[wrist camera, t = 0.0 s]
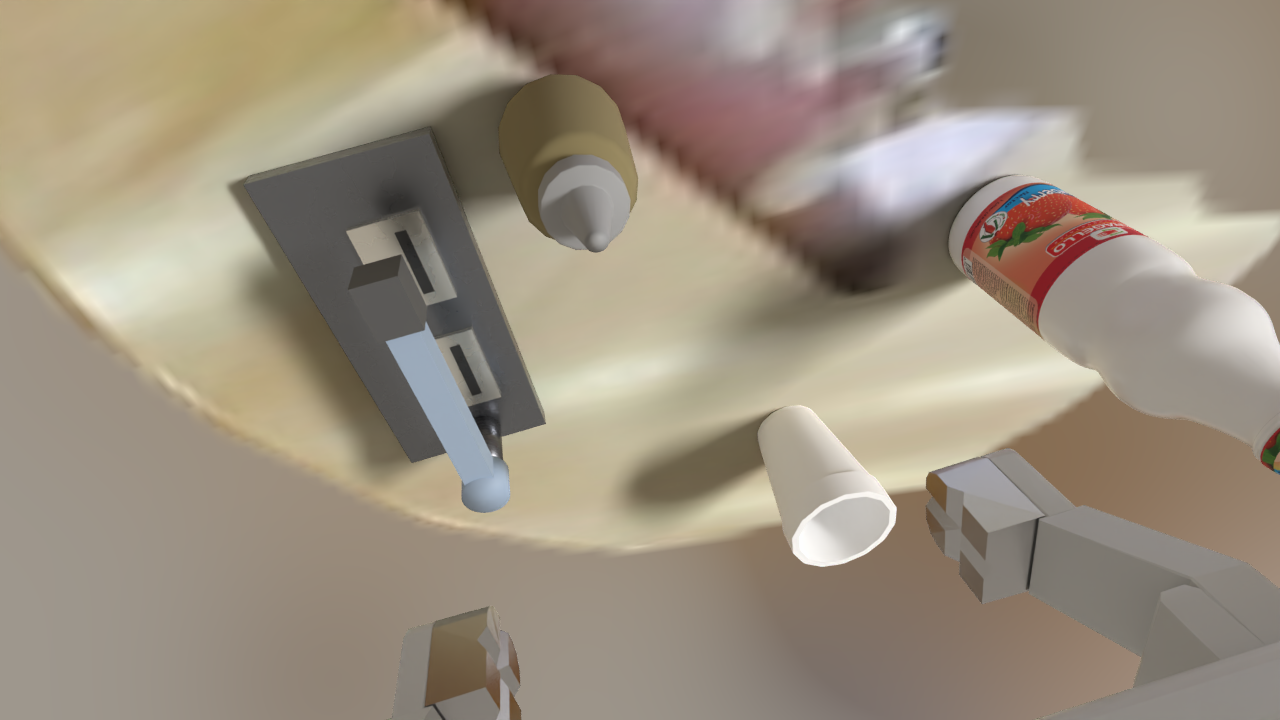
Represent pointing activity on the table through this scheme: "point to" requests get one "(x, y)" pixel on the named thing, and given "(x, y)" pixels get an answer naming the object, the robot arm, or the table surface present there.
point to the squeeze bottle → (569, 160)
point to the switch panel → (437, 259)
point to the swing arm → (429, 376)
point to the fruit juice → (1125, 309)
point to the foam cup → (822, 490)
